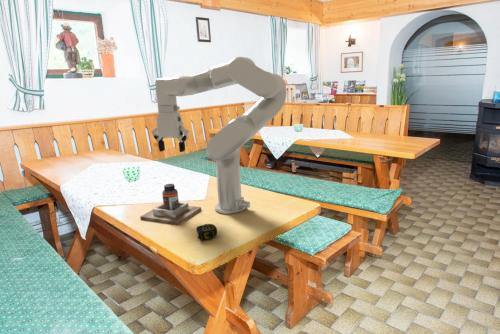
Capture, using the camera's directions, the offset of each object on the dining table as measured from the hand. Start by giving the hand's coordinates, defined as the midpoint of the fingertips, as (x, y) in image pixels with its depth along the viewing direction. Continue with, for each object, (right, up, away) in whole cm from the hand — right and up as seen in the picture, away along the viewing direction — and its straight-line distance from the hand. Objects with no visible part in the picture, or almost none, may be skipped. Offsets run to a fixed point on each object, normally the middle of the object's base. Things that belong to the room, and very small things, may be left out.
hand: (172, 151), depth 146 cm
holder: (+1, -26, -4) cm, 26 cm away
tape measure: (+17, -31, -26) cm, 44 cm away
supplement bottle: (+1, -25, -4) cm, 25 cm away
